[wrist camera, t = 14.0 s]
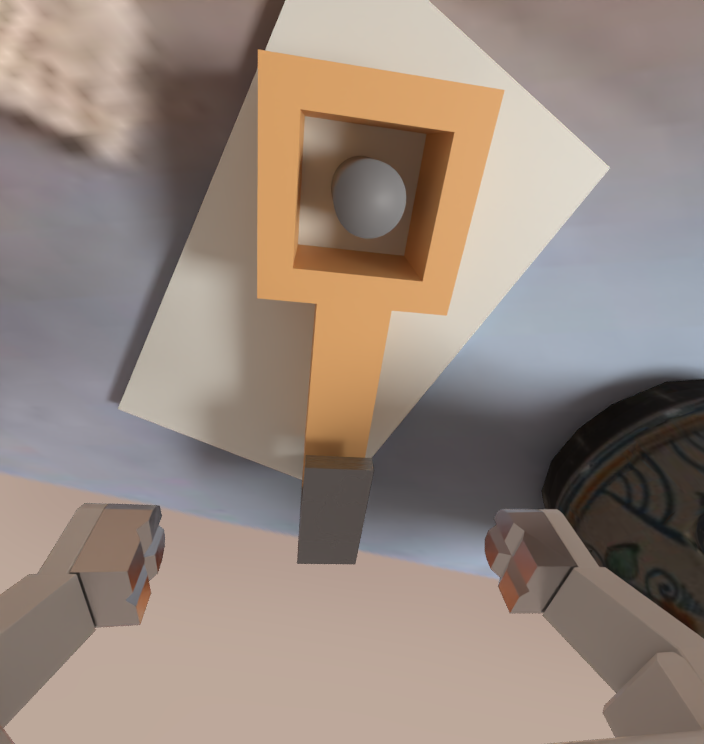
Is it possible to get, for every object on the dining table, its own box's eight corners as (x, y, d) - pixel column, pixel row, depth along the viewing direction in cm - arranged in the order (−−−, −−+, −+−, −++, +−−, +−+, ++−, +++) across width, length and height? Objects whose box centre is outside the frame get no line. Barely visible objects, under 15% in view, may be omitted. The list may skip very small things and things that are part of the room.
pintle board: (123, 400, 23) (77, 461, 18) (324, -84, 14) (326, -187, 9) (340, 486, 27) (344, 550, 23) (599, 166, 18) (685, 174, 14)
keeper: (309, 383, 23) (305, 467, 17) (360, 386, 23) (373, 470, 17) (302, 467, 26) (297, 563, 20) (347, 469, 27) (355, 564, 21)
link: (272, 70, 15) (257, 49, 12) (464, 101, 16) (504, 90, 12) (266, 435, 24) (256, 485, 20) (390, 441, 25) (402, 490, 21)
